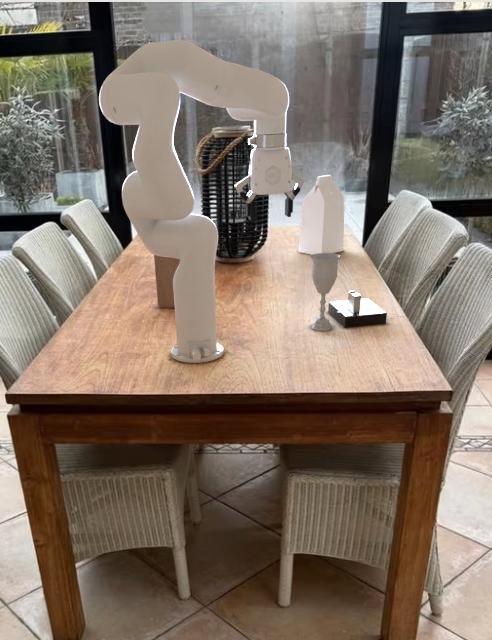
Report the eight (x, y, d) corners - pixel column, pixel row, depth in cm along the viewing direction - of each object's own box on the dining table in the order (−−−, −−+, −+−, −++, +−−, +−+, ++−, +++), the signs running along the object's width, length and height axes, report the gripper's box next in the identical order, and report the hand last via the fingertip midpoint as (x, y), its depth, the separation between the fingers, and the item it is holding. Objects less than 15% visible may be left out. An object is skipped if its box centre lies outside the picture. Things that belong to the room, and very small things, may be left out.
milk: (320, 246, 252) (323, 173, 239) (343, 250, 244) (348, 174, 231) (298, 252, 246) (300, 176, 233) (321, 256, 238) (325, 178, 225)
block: (190, 308, 190) (186, 237, 179) (157, 308, 192) (151, 237, 181) (197, 299, 198) (194, 230, 188) (165, 299, 200) (160, 230, 190)
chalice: (303, 330, 168) (306, 258, 159) (312, 322, 173) (315, 252, 164) (331, 333, 165) (335, 260, 156) (339, 325, 170) (344, 253, 161)
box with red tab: (359, 313, 168) (361, 294, 166) (353, 313, 168) (354, 295, 166) (353, 308, 172) (355, 289, 170) (347, 308, 172) (348, 290, 170)
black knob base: (386, 324, 169) (387, 312, 167) (341, 328, 168) (342, 316, 166) (366, 309, 181) (367, 297, 179) (324, 312, 180) (325, 301, 178)
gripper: (238, 145, 152) (239, 223, 161) (309, 140, 154) (307, 217, 163) (231, 143, 159) (232, 218, 167) (300, 138, 161) (297, 212, 169)
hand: (269, 217), depth 165 cm, fingers open, 9 cm apart
